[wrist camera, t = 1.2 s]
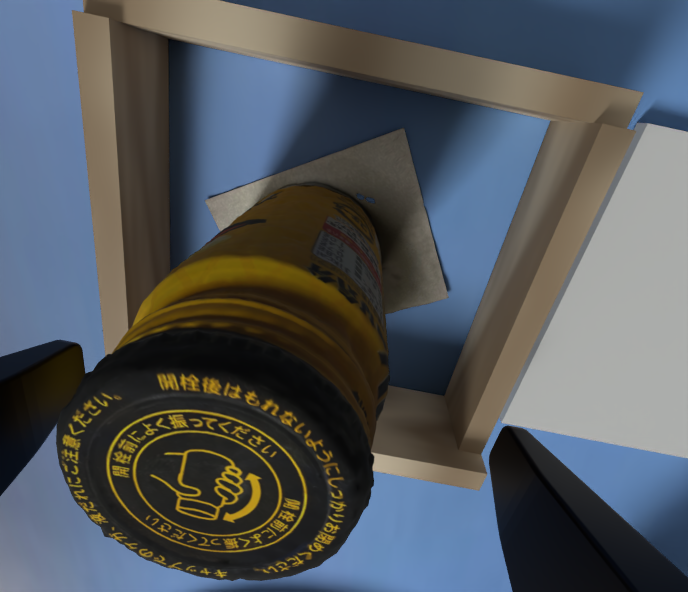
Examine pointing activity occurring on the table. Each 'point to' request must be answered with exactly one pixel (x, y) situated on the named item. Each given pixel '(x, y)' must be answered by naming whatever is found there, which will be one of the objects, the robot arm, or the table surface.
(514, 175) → the table surface
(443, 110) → the table surface
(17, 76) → the table surface
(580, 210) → the pine frame
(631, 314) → the grey mat
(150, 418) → the condiment
